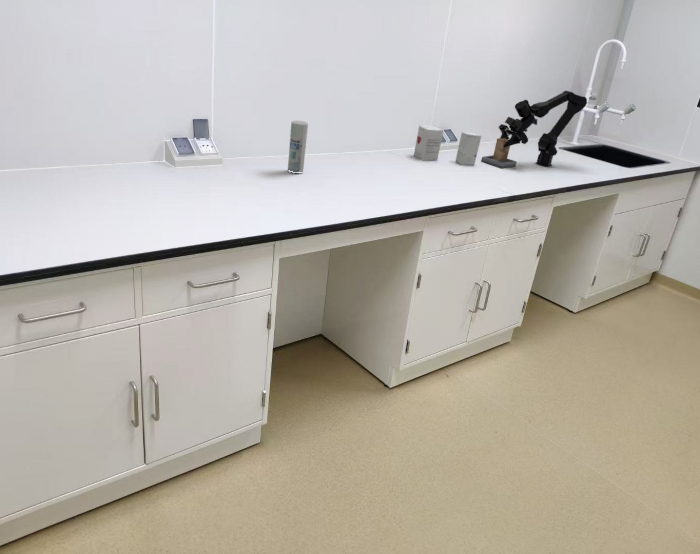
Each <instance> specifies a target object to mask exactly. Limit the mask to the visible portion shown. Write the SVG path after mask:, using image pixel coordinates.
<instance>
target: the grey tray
mask: <svg viewBox="0 0 700 554" xmlns="http://www.w3.org/2000/svg"><path fill="white" fill-rule="evenodd" d="M480 163H485V164H487V165H490V166H493V167H496V168H499V169H508V168H513V167H516V166H517V161H516V160H513V159H510V158H507V161H498V160H496V159H494V158H493V155H485V156H482V157H481V160H480Z"/></svg>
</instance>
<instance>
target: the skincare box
mask: <svg viewBox="0 0 700 554" xmlns="http://www.w3.org/2000/svg"><path fill="white" fill-rule="evenodd" d="M460 134H461V135H460V138H459V144H458V148H457V153H456V157H455V163H457V164H458V165H463V166H468V165H469V166H475V164H476V159H477V156H478V152H479V148H480V144H481V139H482V134H481V135H480V134H478V133H474V132H469V131H462V132H461V133H460Z"/></svg>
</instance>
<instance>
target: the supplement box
mask: <svg viewBox="0 0 700 554" xmlns="http://www.w3.org/2000/svg"><path fill="white" fill-rule="evenodd" d="M443 134H444V129H441V128H439V127H437V126H435V125H423V124H422V125H419V126H418V130H417V135H416V139H415V140H416V141H415V146H414V153H413V156H414V157H416V158H418V159H419V160H422V161H438V159H439V154H440V149H441V144H442V139H443Z"/></svg>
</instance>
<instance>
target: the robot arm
mask: <svg viewBox="0 0 700 554" xmlns="http://www.w3.org/2000/svg"><path fill="white" fill-rule="evenodd" d="M566 102H567V103H566ZM564 103H566V104H567V105H566V106H567V107H566V109H565V111H564V112H563V113H562V114H561V116H560V117H559V119H558V120H557V122H556V123H555V124H554V126H553V127H552V129H550V131H549V132H547V133H545V132H543V134H542V135H541V137H540V138H538V142H537V148H538V152H539V154H538V156H537V160H536V162H535V164H536V165H541V166H543V167H551V166H553V164H552V161H553V158H554V156H556V155H557V154H558V150H557V148H556V145H557V144H558V138H559V136H560V135H561V134H562V133H563V131H564V130H565V128H566V127H567V126H568V124H569V123H570V122H571V120H573V118H574V116H575V115H576V114H578V113H579V112H582V110H583V109H584V108H586V106H587V105H588V99H587V97H585V96H583V95H579V94H576V93H574V92H573V91H569V90H564V91H562V92H560V93H559V94H557V95H556V96H553V97H552V98H549V99H548V100H546V101H540V102H537V103H533V104H532V105H530V102H529V101H528V100H527V99H523V100H521V101H519V102H517V103H516V104H515V105H514V109H515V111H516V113H517V114H518V117H520V119H519V118H516V119H515V118H513V117H510V116H507V118H506V119H505V121H504V123H505V124H502V123H501V124H500V125H499V126H498V129H499V131H500V132H501V135H500V137H499V138H502V139H507V140H508V141H507V142H506V143H505V145H504V148H505V147H508V146H510V147H511V146H515V145H517V144H523V145H526V144H527V143H528V142H529V138H528V136H527V134H526V132H528V128H530V127H531V126H532V125H535V126H538V119H537V118H541V119H543V118H544V117H545V116H547V115H548V114H549V113H550V111H551V110H552V109H554V108H557V107H558V106H561V105H562V104H564ZM535 117H536V118H535ZM506 124H507V125H506ZM509 136H510V137H509Z"/></svg>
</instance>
